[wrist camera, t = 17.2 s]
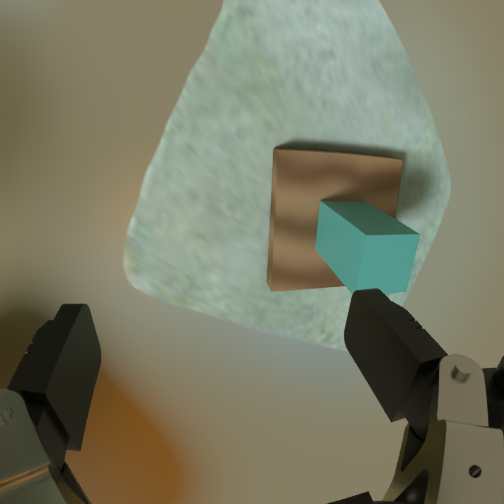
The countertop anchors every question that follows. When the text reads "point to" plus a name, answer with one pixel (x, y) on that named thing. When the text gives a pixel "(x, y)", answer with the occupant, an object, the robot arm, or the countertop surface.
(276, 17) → the countertop surface
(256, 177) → the countertop surface
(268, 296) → the countertop surface
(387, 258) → the tall teal pillar
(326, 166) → the post stand
